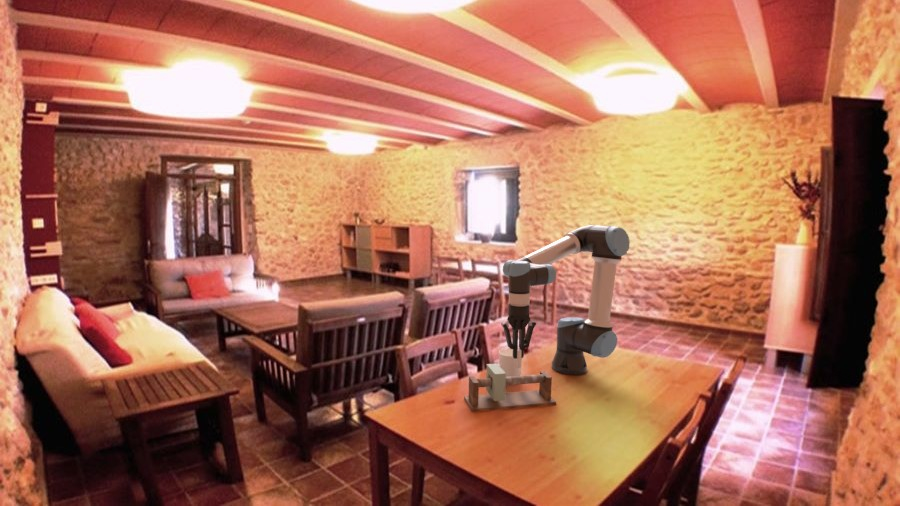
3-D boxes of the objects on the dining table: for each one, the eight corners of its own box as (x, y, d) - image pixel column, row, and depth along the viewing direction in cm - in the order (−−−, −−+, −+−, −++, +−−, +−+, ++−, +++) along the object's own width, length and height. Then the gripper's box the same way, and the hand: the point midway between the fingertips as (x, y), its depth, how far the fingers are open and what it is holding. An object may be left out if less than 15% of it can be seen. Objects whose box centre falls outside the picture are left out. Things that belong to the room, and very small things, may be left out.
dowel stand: (543, 392, 174) (544, 368, 173) (556, 404, 163) (557, 379, 162) (464, 398, 167) (464, 373, 166) (471, 412, 156) (472, 385, 155)
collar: (496, 389, 169) (496, 363, 168) (504, 400, 159) (505, 373, 158) (485, 389, 168) (486, 364, 167) (494, 401, 158) (495, 374, 157)
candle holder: (520, 376, 190) (521, 349, 188) (522, 385, 180) (523, 357, 179) (497, 375, 191) (498, 348, 189) (497, 384, 181) (498, 355, 180)
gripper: (531, 300, 167) (530, 361, 170) (498, 302, 164) (497, 364, 167) (540, 305, 160) (538, 368, 162) (505, 307, 157) (504, 371, 160)
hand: (518, 366), depth 165 cm, fingers closed
